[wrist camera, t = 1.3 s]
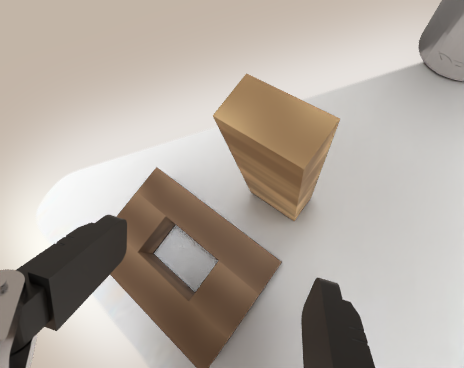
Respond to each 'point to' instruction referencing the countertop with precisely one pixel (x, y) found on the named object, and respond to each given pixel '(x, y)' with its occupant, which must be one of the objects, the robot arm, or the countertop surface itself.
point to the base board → (172, 287)
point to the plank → (276, 142)
